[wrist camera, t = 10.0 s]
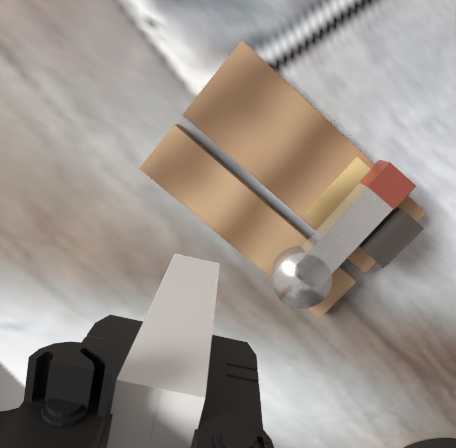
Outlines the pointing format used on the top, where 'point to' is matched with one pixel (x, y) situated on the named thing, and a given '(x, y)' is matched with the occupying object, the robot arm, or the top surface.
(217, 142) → the door boards
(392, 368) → the top surface
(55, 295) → the top surface
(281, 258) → the latch arm
